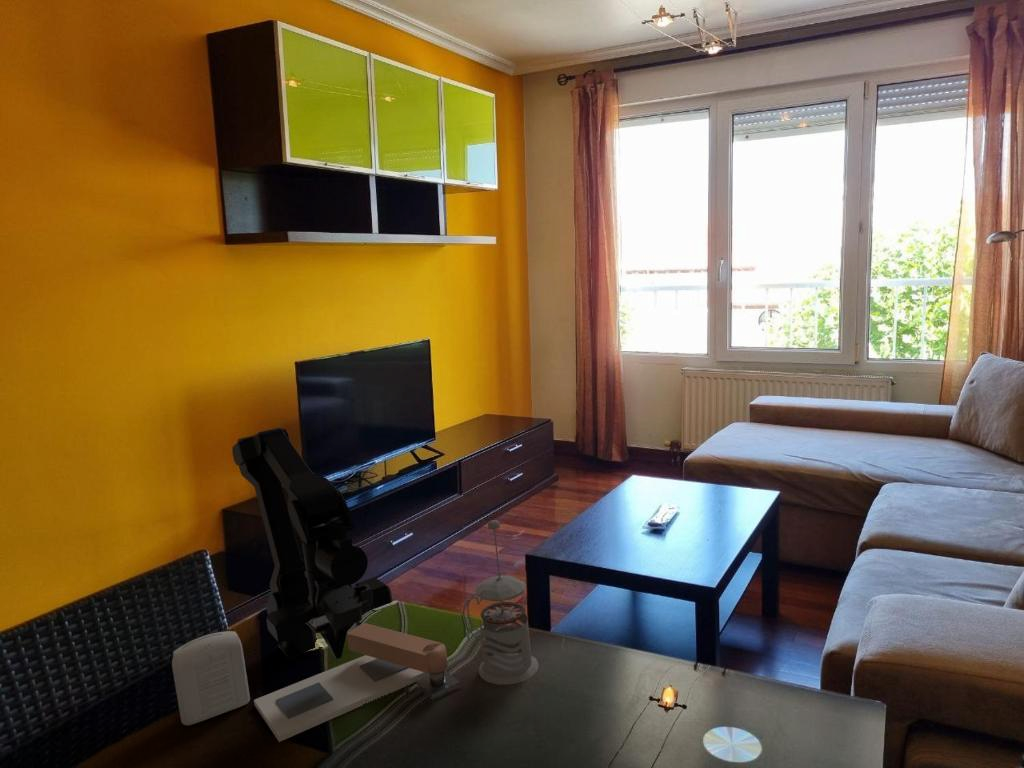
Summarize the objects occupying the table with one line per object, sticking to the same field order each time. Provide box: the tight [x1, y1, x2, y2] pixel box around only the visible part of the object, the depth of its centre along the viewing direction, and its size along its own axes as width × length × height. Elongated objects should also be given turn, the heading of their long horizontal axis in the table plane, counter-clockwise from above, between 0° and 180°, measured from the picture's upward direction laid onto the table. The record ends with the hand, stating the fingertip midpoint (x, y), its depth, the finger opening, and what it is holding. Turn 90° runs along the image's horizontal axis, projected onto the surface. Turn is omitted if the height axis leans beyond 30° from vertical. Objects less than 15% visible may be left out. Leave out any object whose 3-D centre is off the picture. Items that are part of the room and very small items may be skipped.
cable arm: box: [346, 622, 449, 673], centre depth 121 cm, size 19×4×3 cm, turn 57°
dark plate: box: [415, 669, 461, 702], centre depth 117 cm, size 5×5×3 cm
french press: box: [462, 519, 540, 685], centre depth 120 cm, size 10×12×25 cm
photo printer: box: [171, 630, 251, 726], centre depth 116 cm, size 10×4×12 cm, turn 123°
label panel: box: [253, 655, 429, 743], centre depth 119 cm, size 12×26×1 cm, turn 125°
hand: (337, 657), depth 120 cm, fingers closed
